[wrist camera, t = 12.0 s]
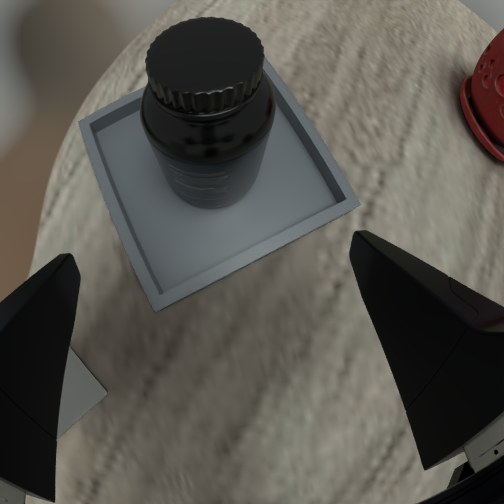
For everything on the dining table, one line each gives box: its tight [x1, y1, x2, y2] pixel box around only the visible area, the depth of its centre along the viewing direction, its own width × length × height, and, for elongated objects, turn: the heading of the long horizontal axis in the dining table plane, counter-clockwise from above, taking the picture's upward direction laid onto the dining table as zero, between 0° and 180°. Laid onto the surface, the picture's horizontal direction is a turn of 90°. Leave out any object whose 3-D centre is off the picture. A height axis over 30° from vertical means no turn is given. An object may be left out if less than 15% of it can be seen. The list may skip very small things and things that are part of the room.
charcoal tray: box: [78, 58, 361, 312], centre depth 22 cm, size 16×16×2 cm
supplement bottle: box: [140, 17, 276, 208], centre depth 16 cm, size 7×7×12 cm
